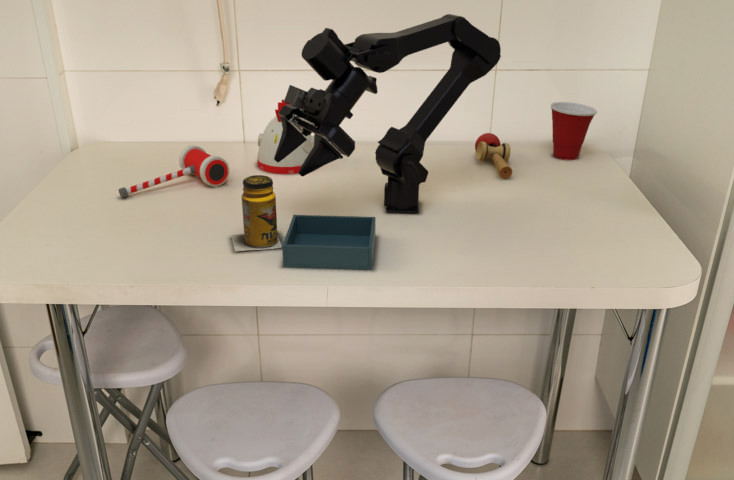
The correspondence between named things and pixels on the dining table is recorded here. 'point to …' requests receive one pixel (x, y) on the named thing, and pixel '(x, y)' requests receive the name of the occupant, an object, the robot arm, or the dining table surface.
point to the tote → (330, 242)
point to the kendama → (494, 153)
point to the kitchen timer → (270, 144)
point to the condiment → (258, 215)
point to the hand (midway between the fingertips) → (287, 167)
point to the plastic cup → (570, 128)
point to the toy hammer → (190, 170)
